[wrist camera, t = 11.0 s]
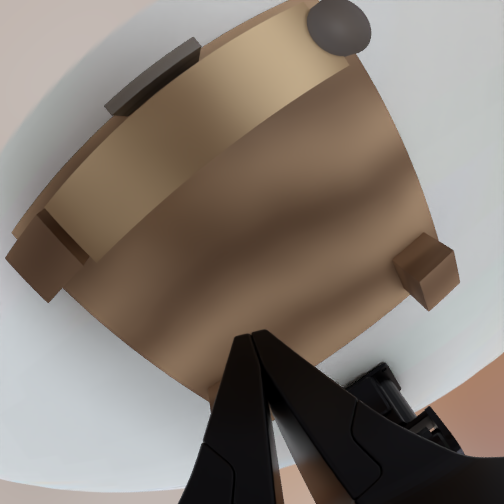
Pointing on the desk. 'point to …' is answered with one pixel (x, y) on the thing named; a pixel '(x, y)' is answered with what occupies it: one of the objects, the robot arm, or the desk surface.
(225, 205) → the seat
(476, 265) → the desk surface
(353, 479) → the robot arm
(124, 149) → the hinged leg
